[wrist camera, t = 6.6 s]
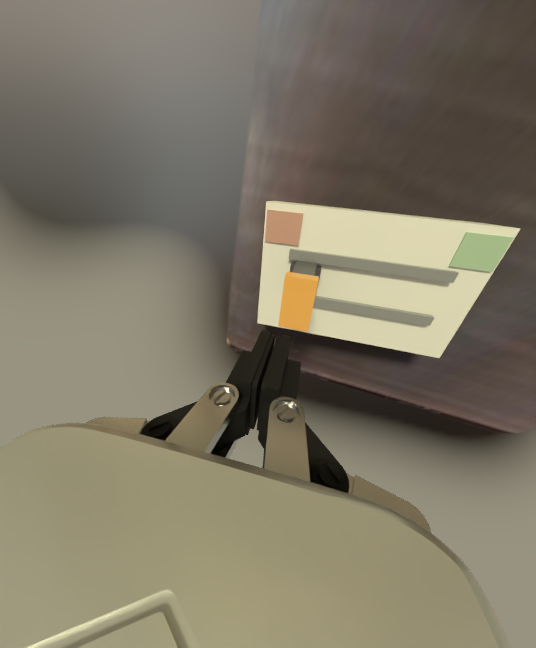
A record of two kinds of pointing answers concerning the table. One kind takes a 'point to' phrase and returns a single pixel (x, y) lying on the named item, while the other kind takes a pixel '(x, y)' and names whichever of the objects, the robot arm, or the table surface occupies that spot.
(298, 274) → the handle
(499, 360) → the table surface
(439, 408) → the table surface
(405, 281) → the switch box
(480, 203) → the table surface
